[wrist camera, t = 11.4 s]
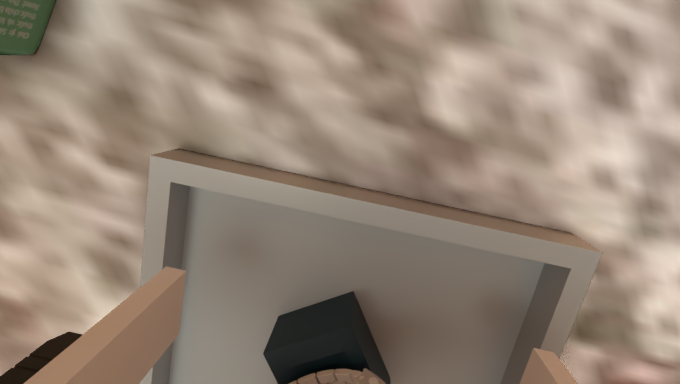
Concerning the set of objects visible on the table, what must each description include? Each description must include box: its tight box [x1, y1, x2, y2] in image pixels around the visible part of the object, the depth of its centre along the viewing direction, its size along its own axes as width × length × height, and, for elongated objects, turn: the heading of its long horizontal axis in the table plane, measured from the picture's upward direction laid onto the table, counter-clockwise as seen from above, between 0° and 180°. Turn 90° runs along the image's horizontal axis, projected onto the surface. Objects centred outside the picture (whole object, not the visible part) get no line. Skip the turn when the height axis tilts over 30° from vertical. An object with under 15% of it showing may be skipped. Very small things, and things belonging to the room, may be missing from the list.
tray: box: [139, 149, 602, 384], centre depth 19 cm, size 18×20×2 cm
